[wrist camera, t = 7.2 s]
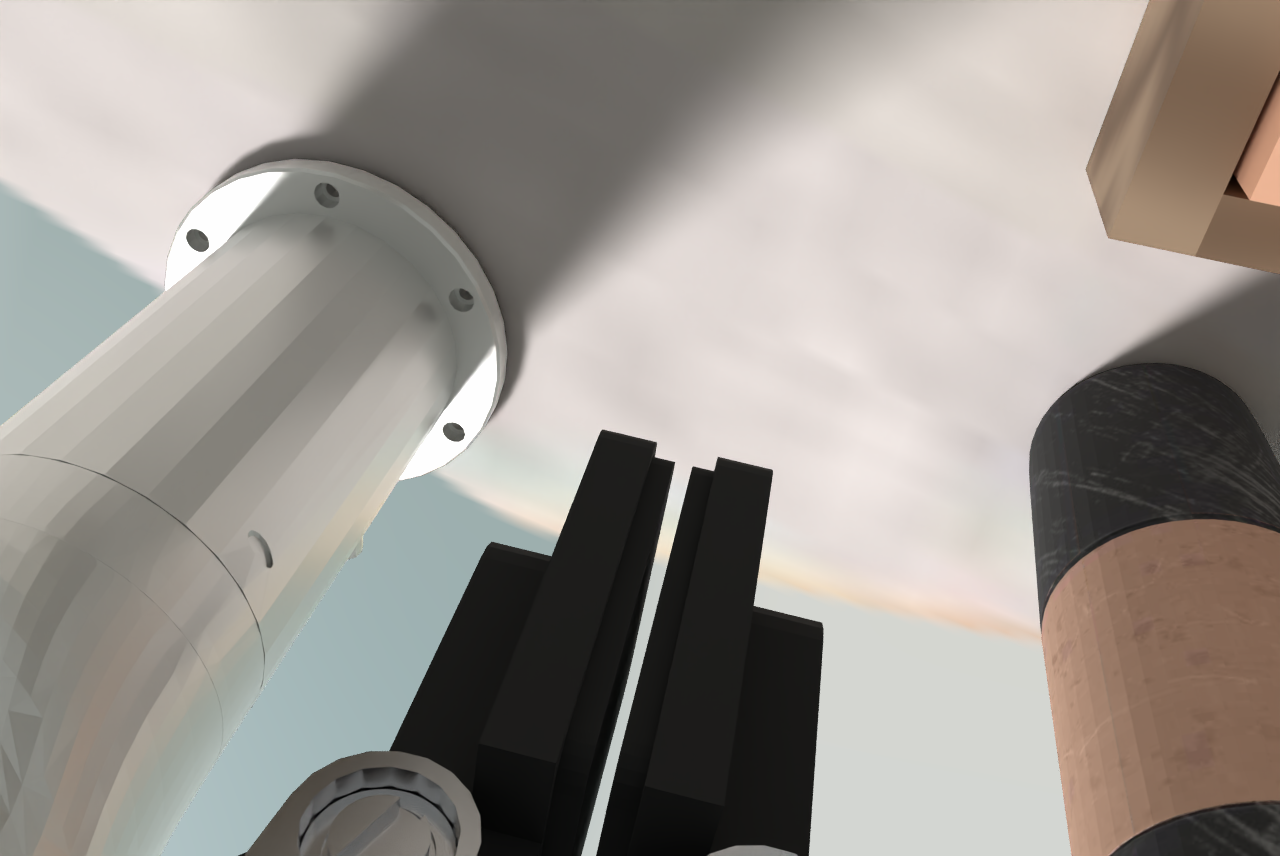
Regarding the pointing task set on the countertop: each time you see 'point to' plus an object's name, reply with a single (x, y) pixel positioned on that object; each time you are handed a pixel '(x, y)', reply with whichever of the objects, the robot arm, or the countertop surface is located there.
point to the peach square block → (1263, 154)
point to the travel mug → (1160, 613)
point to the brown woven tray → (1190, 132)
